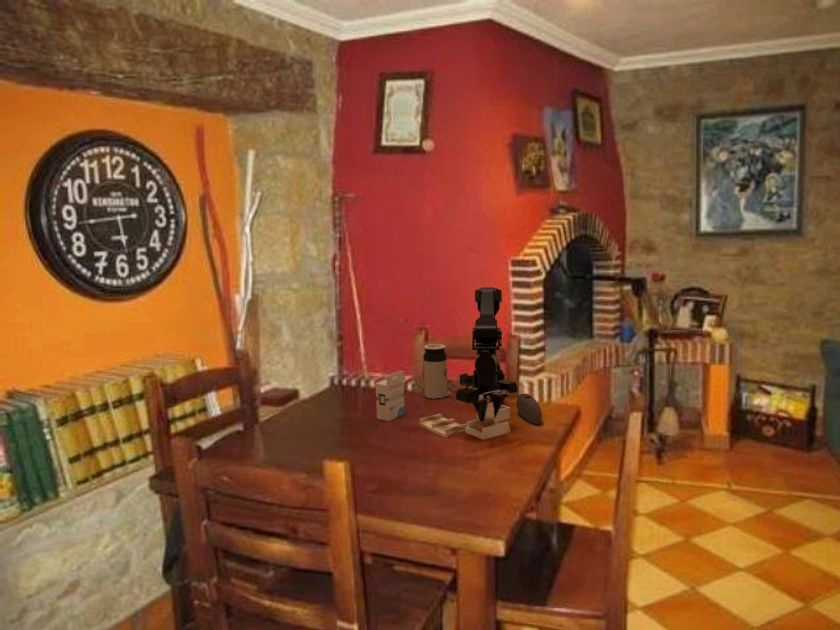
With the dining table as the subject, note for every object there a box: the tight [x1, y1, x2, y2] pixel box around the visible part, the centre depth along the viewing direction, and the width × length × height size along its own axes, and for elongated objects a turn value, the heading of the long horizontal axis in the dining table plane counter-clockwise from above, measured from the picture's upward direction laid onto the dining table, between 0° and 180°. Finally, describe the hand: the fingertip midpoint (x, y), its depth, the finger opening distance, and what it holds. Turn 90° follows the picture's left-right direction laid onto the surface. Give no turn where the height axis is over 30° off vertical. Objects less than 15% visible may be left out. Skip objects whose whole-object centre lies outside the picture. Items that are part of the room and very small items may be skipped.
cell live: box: [481, 399, 495, 427], centre depth 187 cm, size 4×4×8 cm
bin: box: [476, 404, 511, 423], centre depth 201 cm, size 7×7×4 cm
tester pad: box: [476, 423, 484, 432], centre depth 188 cm, size 5×5×2 cm
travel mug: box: [423, 343, 448, 400], centre depth 228 cm, size 8×8×18 cm
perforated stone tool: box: [515, 393, 543, 426], centre depth 199 cm, size 15×5×7 cm, turn 9°
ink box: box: [375, 370, 406, 422], centre depth 206 cm, size 9×5×15 cm, turn 143°
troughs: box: [417, 413, 467, 438], centre depth 194 cm, size 9×14×2 cm, turn 34°
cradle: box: [464, 418, 511, 440], centre depth 188 cm, size 10×8×4 cm
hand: (487, 419), depth 188 cm, fingers closed on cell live, 4 cm apart
